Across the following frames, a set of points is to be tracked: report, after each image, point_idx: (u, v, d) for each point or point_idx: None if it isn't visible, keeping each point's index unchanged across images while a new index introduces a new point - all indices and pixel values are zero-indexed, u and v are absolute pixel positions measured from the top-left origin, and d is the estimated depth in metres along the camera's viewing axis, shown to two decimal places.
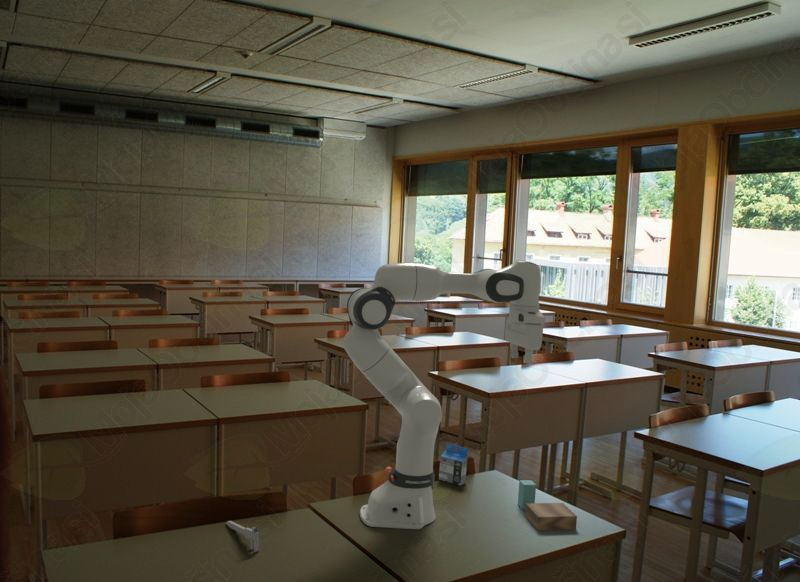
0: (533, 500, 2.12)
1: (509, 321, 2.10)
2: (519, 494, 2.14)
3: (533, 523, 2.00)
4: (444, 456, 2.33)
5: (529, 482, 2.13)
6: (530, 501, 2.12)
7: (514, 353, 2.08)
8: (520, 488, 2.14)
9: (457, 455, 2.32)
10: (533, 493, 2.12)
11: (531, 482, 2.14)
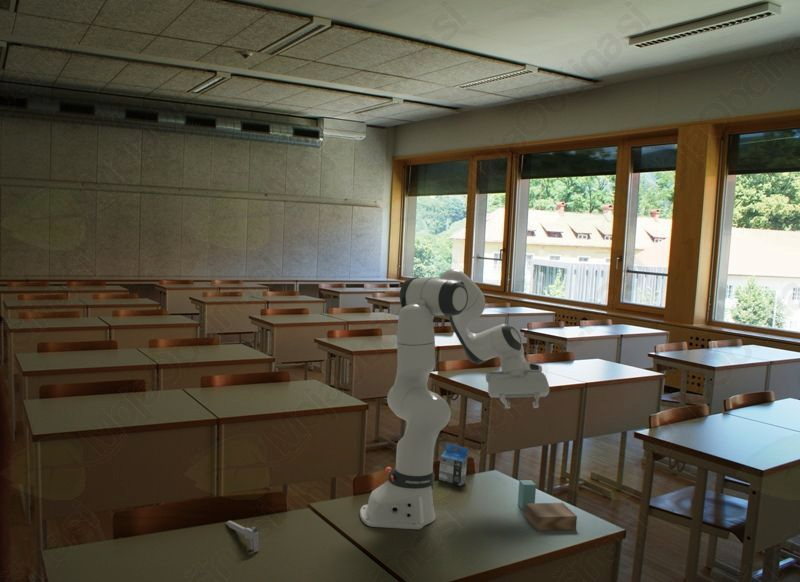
0: (533, 500, 2.12)
1: (498, 375, 2.26)
2: (519, 493, 2.14)
3: (533, 523, 2.00)
4: (444, 456, 2.33)
5: (529, 482, 2.13)
6: (530, 501, 2.12)
7: None
8: (520, 488, 2.14)
9: (457, 455, 2.32)
10: (533, 493, 2.12)
11: (531, 482, 2.14)
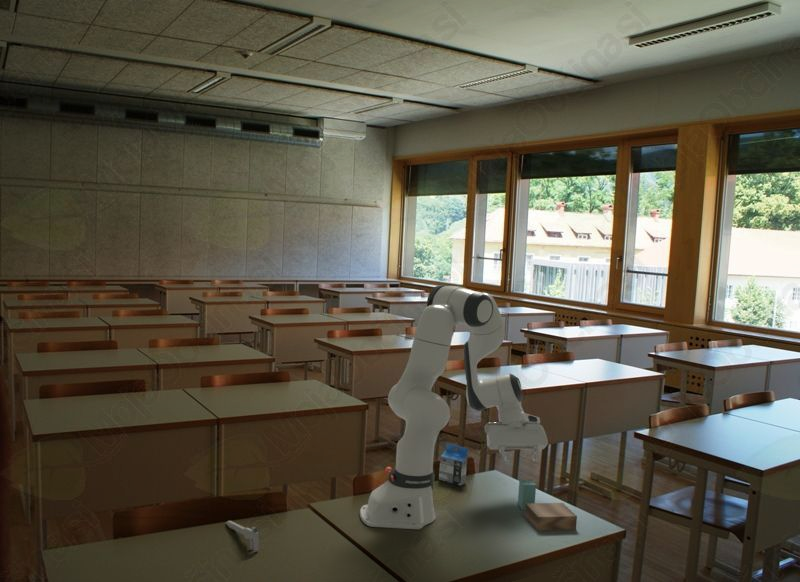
0: (533, 500, 2.12)
1: (497, 427, 2.24)
2: (519, 493, 2.14)
3: (533, 523, 2.00)
4: (444, 456, 2.33)
5: (529, 482, 2.13)
6: (530, 501, 2.12)
7: None
8: (520, 488, 2.14)
9: (457, 455, 2.32)
10: (533, 493, 2.12)
11: (531, 482, 2.14)
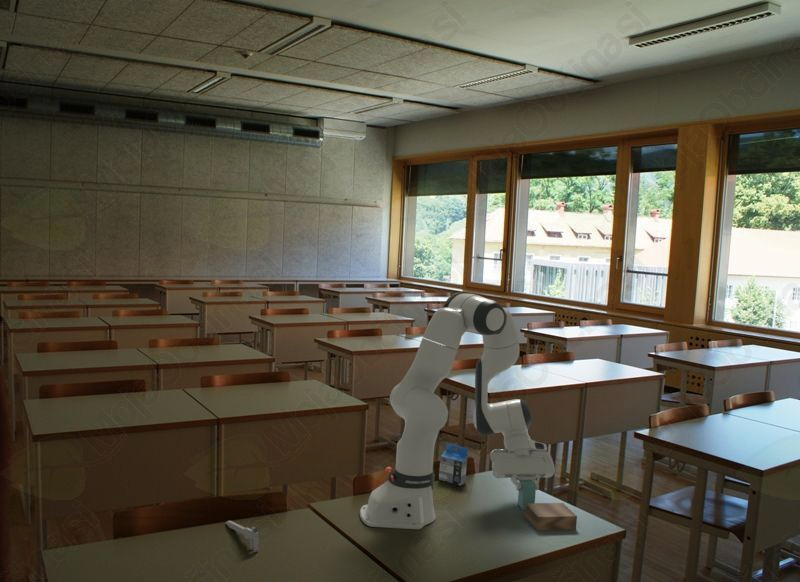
0: (533, 500, 2.12)
1: (503, 454, 2.17)
2: (519, 493, 2.14)
3: (533, 523, 2.00)
4: (444, 456, 2.33)
5: (529, 482, 2.13)
6: (530, 501, 2.12)
7: None
8: None
9: (457, 455, 2.32)
10: (533, 493, 2.12)
11: (531, 482, 2.14)
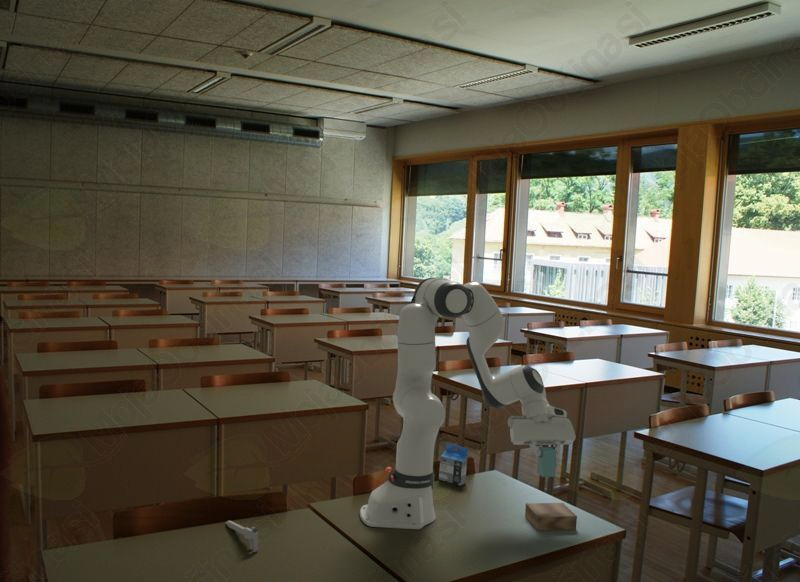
0: (553, 467, 2.04)
1: (522, 420, 2.09)
2: (539, 461, 2.06)
3: (533, 523, 2.00)
4: (444, 456, 2.33)
5: (549, 449, 2.05)
6: (550, 468, 2.03)
7: None
8: None
9: (457, 455, 2.32)
10: (553, 460, 2.03)
11: (551, 448, 2.05)
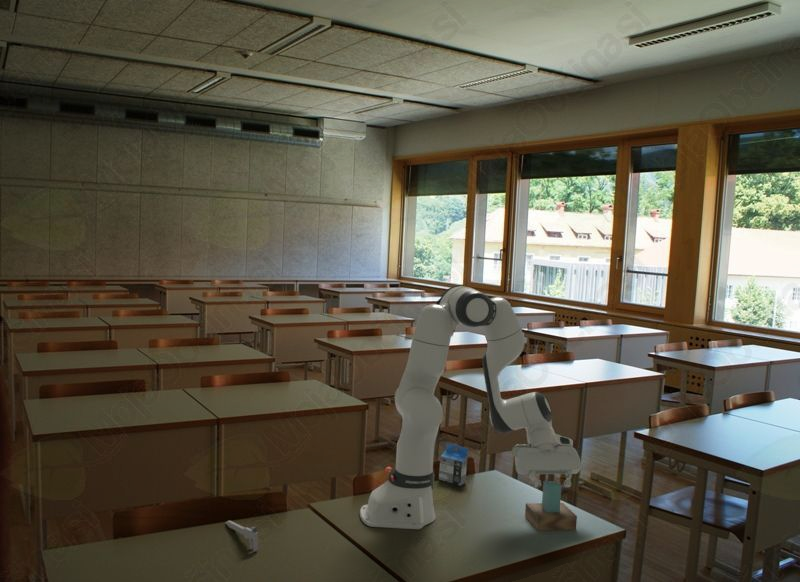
0: (558, 502, 2.01)
1: (527, 449, 2.06)
2: (543, 495, 2.03)
3: (533, 523, 2.00)
4: (444, 456, 2.33)
5: (553, 484, 2.02)
6: (555, 503, 2.00)
7: None
8: (544, 490, 2.02)
9: (457, 455, 2.32)
10: (558, 495, 2.00)
11: (556, 483, 2.02)
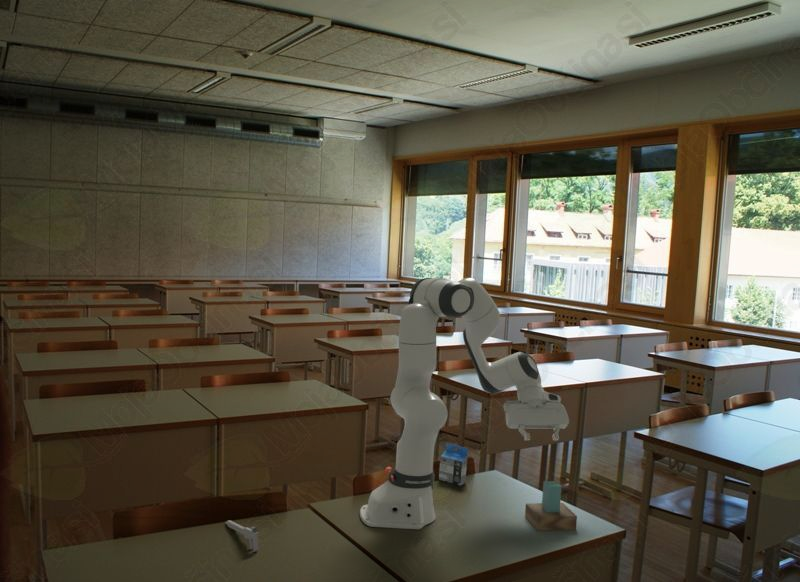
0: (558, 502, 2.01)
1: (517, 405, 2.16)
2: (543, 495, 2.03)
3: (533, 523, 2.00)
4: (444, 456, 2.33)
5: (553, 484, 2.02)
6: (555, 503, 2.00)
7: None
8: (544, 490, 2.02)
9: (457, 455, 2.32)
10: (558, 495, 2.00)
11: (556, 483, 2.02)
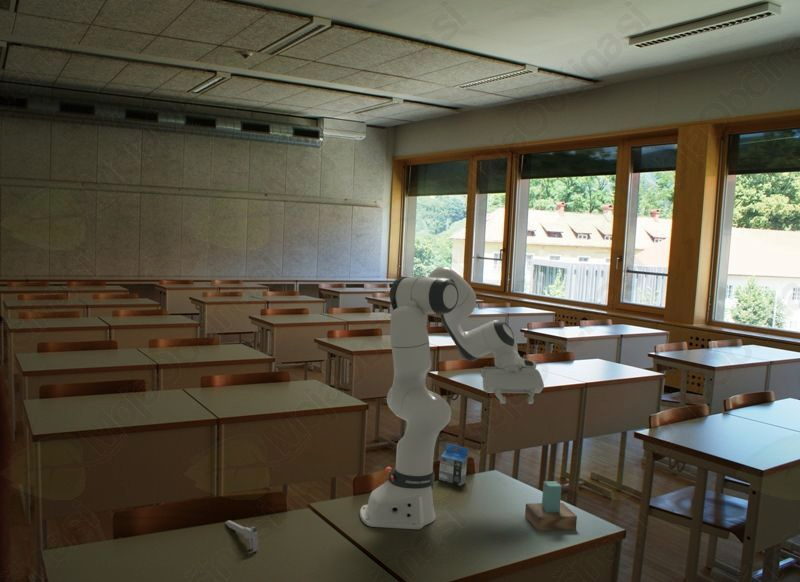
0: (558, 502, 2.01)
1: (493, 370, 2.24)
2: (543, 495, 2.03)
3: (533, 523, 2.00)
4: (444, 456, 2.33)
5: (553, 484, 2.02)
6: (555, 503, 2.00)
7: None
8: (544, 490, 2.02)
9: (457, 455, 2.32)
10: (558, 495, 2.00)
11: (556, 483, 2.02)
